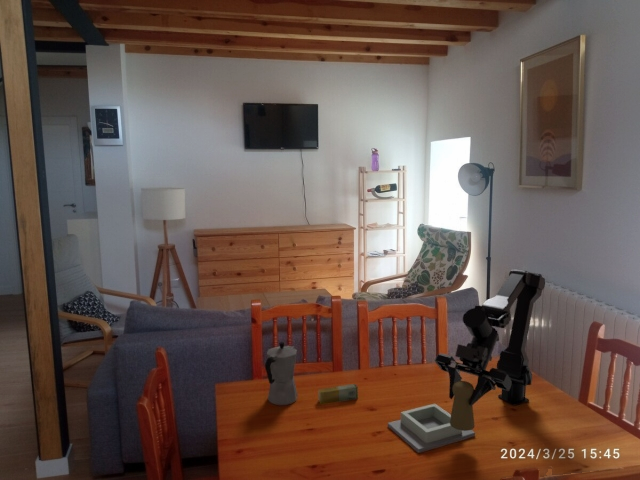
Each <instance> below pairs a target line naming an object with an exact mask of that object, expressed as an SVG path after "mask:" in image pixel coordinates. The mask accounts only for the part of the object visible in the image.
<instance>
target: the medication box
mask: <svg viewBox="0 0 640 480" xmlns="http://www.w3.org/2000/svg"><path fill="white" fill-rule="evenodd" d="M358 390H359V389H358V386H357V384H355V383H352V384H345V385H339V386H331V387H326V388H325V387H324V388H318V402H319V403H320V405H327V404H332V403H333V404H334V403H338V402H347V401H352V400H358V399H359V396H358V395H359V394H358V393H359V392H358Z"/></svg>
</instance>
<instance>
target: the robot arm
mask: <svg viewBox="0 0 640 480" xmlns="http://www.w3.org/2000/svg"><path fill="white" fill-rule="evenodd" d="M545 286H546V279H545V278H544V277H543V275H542V274H541V273H535V272H529V271H528V270H523V269H516V268H515V269H511V270H510V271H509V273H508V277H507V278H506V280H505V281H504V283H503V285H502V286H501V287H500V289H499V290H498V292H497V293H496V294H495V296H494V297H491V298H489V299H486V300H485V302H483V303H482V304H481V305H479V304H476V305H474V308H470V309H468V310H467V311H466V312H464V313H463V316H462V323H464V325H465V327H466V329H467V330H468V332H469V334H470V335H471V336H472V338H471V341H470V342H468V343H467V344H466V345H462V344H459V343H458V344H457V347H456V351H455V358H459V361H460V362H458V361H456V359H455V358H454V357H453V356H452V355H449V354H445V353H442V352H441V353H438V354H437V355H436V357H435V359H434V363H436V365H437V366H438V368H439V369H440V370H441V371H442V372H446V373H448V375H449V395H448V397H449V399H450V400H452V399H454V396H455V395H454V394H453V385H454V383H455V382H458V381H462V380H463V378H462V376H461V375H460V373H461V372H462V373H466V374H470V375H472V376H476V377H477V383H476V385H475V387H474V392H473V394H472V396H471V399H470V402H469V405H470V406H473V405H475V403H477V402H478V401H479V400H480V399H481V398H482V397H483V396H485V395H486V394H487V393H489V392H490V391H492V390H493V391H496V388H498V389H501V393H500V394H498V398H499V399H501V400H503V401H505V402H507V403H508V404H510V405H512V406H518V405H520V404H525V403H528V402H530V399H529V398H527V397H526V392H527V391H526V389H527V386H531V385H532V381H533V373H532V371H531V369H530V367H529V361H530V360H529V358H528V356H527V353H526V345H527V341H528V340H527V339H528V335H529V331H530V330H529V329H530V324H531V319H532V314H533V313H532V312H533V308H534V303H535V302H536V301H537V300H538V299H539V298H540V297H541V296H542V293H543V290H544V289H545ZM515 301H516V303H515ZM514 303H515V304H516V305H515V309H514V313H513V314H514V315H513V320H512V324H511V325H512V326H511V330H510V334H509V341H508V345H507V347H506V348H505V349H504V350H501V351H500V353H499V359H498V361H497V362H496V367H491V368H490V369H489V371H488V370H487V367H488V364H489V362H492V360H493V357H492V354H493V352H494V348H495V346H496V344H497V342H499V341H500V336H499V332H498V330H497V329H496V328H500V329H505V328H506V327H507V326H508V324H510V322H511V319H512V316H511V308H512V306H513V305H514ZM461 362H462V363H461Z"/></svg>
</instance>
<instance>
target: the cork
mask: <svg viewBox="0 0 640 480" xmlns="http://www.w3.org/2000/svg"><path fill="white" fill-rule="evenodd" d="M474 390H475V387H474V385H473V384H472V383H471V382H469V381H465V380H461V381H458V382H455V383H454V385H453V394H454V397H453V402H452V407H451V413H450V414H451V418H450V425H451V426H452V427H453V428H455V429H457V430H462V431H468V430H472V431H473V429H474V428H475V427H476V426H475V425H476V424H475V419H474V418H475V416H474V406H473V405H472V406H470V405H469V402H470V399H471V396H472V394H473V392H474Z"/></svg>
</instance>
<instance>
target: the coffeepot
mask: <svg viewBox="0 0 640 480" xmlns="http://www.w3.org/2000/svg"><path fill="white" fill-rule="evenodd" d="M278 344H279V346H276V347H272V348H268V350H267V352H266V357H267V359H266V361H265V363H264V368H265V372H266V376H267V379H268V383H269V389H268V390H269V391H268V395H267V401H269V403H271V404H273V405H275V406H276V405H277V406H286V405H290V404H293V403H295V402H296V401H297V399H298V398H297V397H298V392H297V387H296V382H295V380H296V379H295V377H294V373H295V367H296V360H297V352H298V350H297V349H296V348H295V345H293V346H292V345H290V344H289V345H285V342H284V341H281V342H279V343H278Z"/></svg>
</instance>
